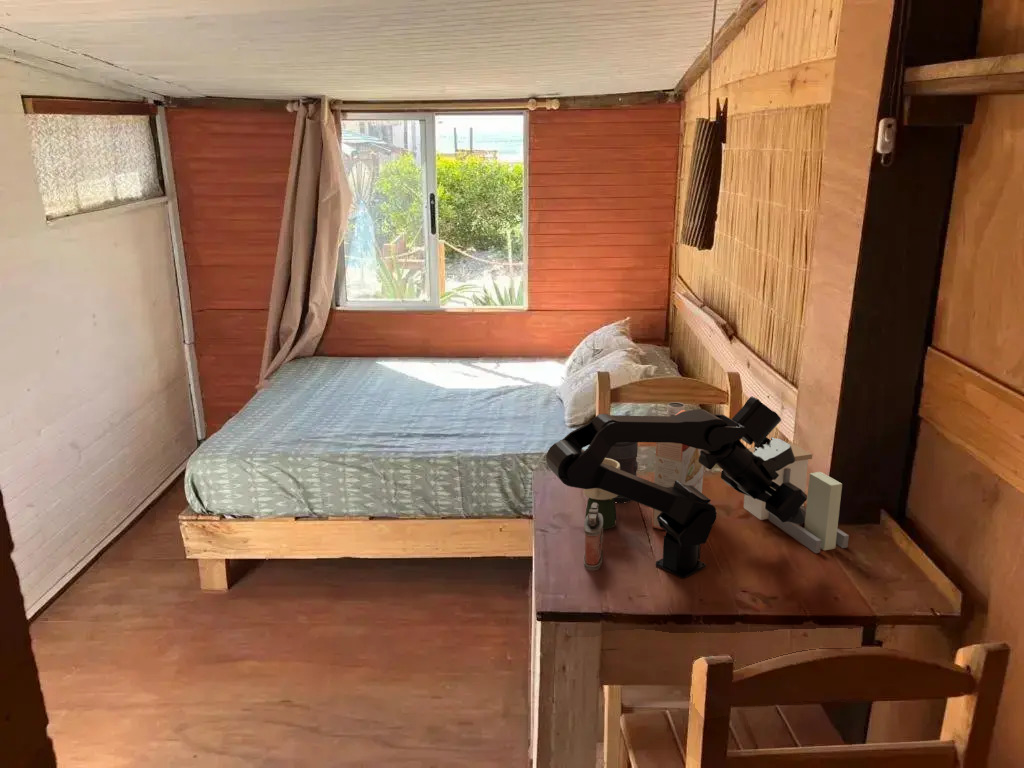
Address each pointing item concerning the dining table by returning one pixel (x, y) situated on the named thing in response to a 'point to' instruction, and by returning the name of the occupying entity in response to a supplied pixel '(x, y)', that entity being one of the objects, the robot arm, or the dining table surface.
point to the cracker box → (676, 468)
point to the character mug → (603, 500)
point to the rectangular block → (823, 508)
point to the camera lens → (624, 460)
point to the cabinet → (797, 477)
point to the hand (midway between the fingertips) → (786, 511)
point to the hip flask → (593, 538)
